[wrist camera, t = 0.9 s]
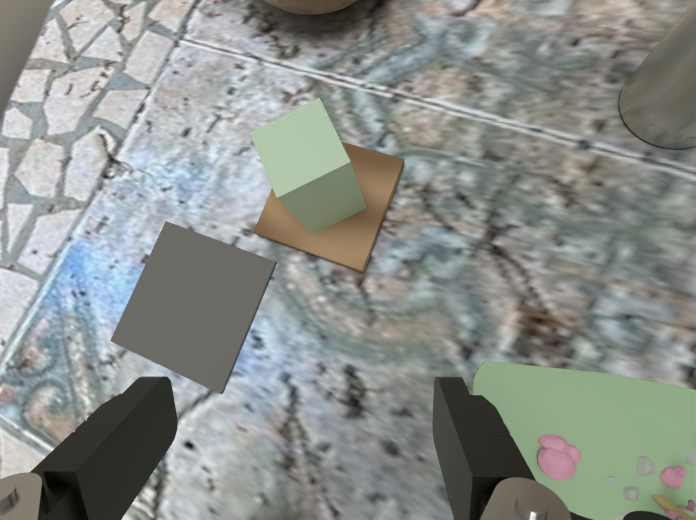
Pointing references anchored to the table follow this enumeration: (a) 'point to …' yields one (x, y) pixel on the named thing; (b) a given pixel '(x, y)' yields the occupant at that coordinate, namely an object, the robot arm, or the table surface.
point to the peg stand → (351, 233)
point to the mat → (194, 305)
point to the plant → (600, 437)
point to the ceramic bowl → (310, 5)
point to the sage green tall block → (309, 167)
